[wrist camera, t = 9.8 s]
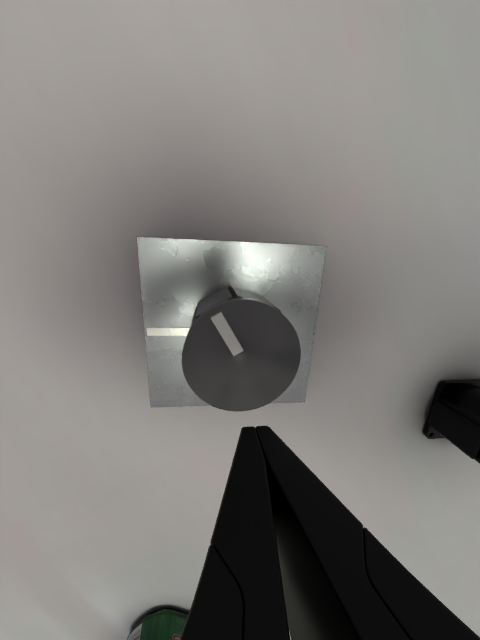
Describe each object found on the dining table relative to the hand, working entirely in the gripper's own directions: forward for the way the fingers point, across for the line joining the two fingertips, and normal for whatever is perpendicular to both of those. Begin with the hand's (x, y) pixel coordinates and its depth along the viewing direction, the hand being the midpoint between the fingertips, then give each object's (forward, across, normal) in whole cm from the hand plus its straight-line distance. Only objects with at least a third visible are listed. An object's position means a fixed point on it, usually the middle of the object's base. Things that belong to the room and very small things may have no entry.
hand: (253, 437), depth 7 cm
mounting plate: (+12, 0, 0) cm, 12 cm away
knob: (+10, 0, 0) cm, 10 cm away
